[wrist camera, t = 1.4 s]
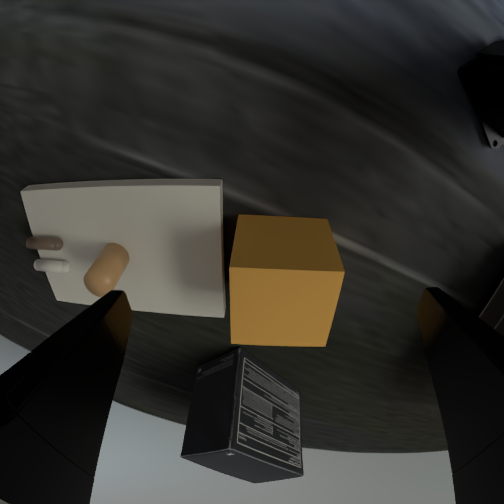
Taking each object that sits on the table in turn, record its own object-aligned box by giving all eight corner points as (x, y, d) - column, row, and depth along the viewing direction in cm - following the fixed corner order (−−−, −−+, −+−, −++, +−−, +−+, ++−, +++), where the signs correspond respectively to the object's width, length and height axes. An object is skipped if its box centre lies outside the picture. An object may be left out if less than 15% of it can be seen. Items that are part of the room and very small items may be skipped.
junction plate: (222, 179, 20) (210, 211, 16) (225, 307, 26) (219, 351, 22) (24, 185, 20) (-11, 212, 16) (58, 291, 26) (36, 325, 22)
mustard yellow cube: (327, 218, 21) (344, 271, 16) (315, 287, 25) (325, 346, 20) (238, 214, 21) (229, 267, 16) (238, 284, 25) (231, 343, 20)
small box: (192, 366, 31) (174, 458, 22) (240, 344, 29) (230, 447, 20) (257, 407, 35) (253, 486, 27) (302, 390, 33) (307, 476, 24)
